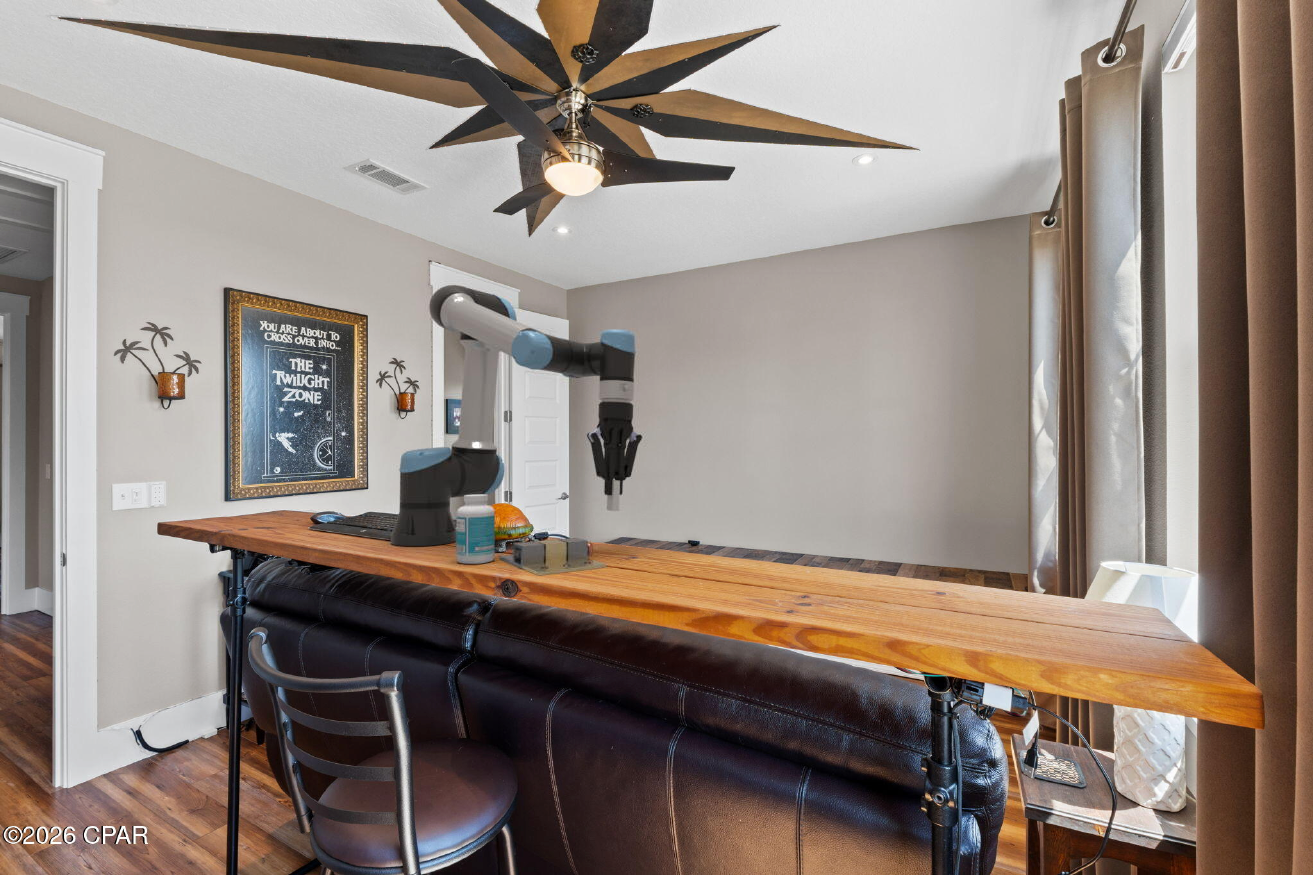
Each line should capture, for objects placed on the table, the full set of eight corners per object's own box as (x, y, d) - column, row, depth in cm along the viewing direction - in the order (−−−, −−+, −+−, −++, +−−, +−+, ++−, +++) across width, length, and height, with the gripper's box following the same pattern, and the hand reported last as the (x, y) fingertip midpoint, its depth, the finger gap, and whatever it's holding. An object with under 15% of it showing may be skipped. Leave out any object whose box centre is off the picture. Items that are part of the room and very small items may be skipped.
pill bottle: (499, 558, 121) (500, 493, 121) (486, 565, 113) (486, 496, 114) (465, 557, 121) (466, 493, 122) (449, 564, 114) (450, 495, 115)
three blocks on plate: (499, 558, 120) (499, 538, 120) (560, 552, 128) (560, 533, 128) (538, 575, 104) (539, 551, 104) (606, 567, 112) (606, 545, 112)
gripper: (598, 398, 119) (595, 513, 119) (650, 403, 127) (647, 511, 126) (581, 400, 125) (578, 509, 125) (631, 404, 133) (628, 507, 132)
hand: (612, 510), depth 126 cm, fingers closed
